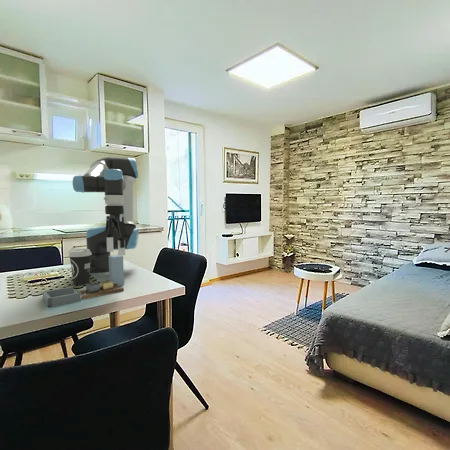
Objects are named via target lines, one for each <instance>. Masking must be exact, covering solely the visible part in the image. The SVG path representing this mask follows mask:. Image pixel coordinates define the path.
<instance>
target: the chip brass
mask: <svg viewBox="0 0 450 450" xmlns="http://www.w3.org/2000/svg"><path fill="white" fill-rule="evenodd" d="M99 287H100V291H105V290H110V289H114V288H113V282H112V281H110V280H109V279H108V280H107V279H106V280H101V281H99Z"/></svg>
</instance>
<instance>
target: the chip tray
mask: <svg viewBox="0 0 450 450" xmlns="http://www.w3.org/2000/svg"><path fill="white" fill-rule="evenodd" d="M81 295H82V294H80V292H78V293H77V292H74V286H67V287H62V288H61V287H60V288H56V289H50V290H44V291H42V300H43V301H44V303H45V304H46V305H47V306H48V308H51V307H52V308H53V307H56V306H61V305H65V304H71V303H76V302H81V299H82V296H81Z"/></svg>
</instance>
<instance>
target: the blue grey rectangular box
mask: <svg viewBox="0 0 450 450" xmlns="http://www.w3.org/2000/svg"><path fill="white" fill-rule="evenodd" d="M124 270H125V269H124V255H123V256H118V254H116V255H115V254H113V255H111V256H109V271H108V273H109V274H108V276H109V278H108V280H110V281H112V282H113V284H117V287H119V286H125V279H124V278H125V277H124V276H125V274H124V273H125V272H124Z"/></svg>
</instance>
